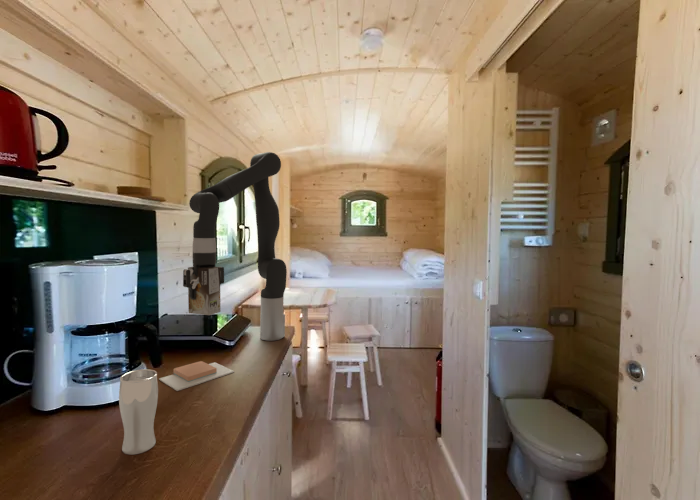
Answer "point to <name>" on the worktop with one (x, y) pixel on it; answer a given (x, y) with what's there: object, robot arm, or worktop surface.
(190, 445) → the worktop surface
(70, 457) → the worktop surface
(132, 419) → the beer glass
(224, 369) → the mat
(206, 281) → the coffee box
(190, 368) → the tile
